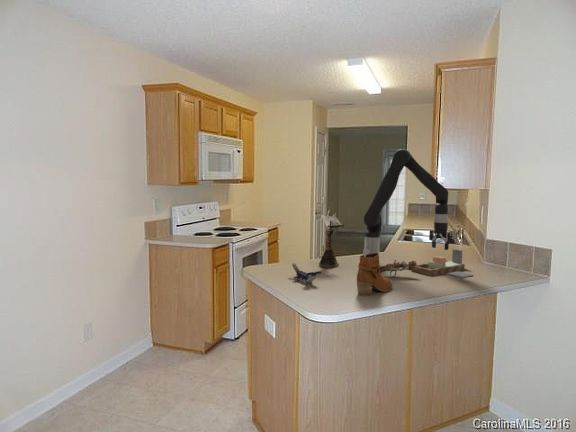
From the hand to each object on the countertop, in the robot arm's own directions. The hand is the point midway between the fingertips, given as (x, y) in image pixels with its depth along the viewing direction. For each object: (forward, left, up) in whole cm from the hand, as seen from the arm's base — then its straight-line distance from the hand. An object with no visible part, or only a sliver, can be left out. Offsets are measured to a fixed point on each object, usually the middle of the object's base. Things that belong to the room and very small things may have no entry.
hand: (440, 248), depth 237 cm
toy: (-83, +20, -13) cm, 86 cm away
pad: (0, -14, -13) cm, 19 cm away
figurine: (-37, +4, -13) cm, 39 cm away
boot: (-64, -13, -13) cm, 67 cm away
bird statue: (-49, +40, -13) cm, 65 cm away
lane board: (-1, 0, -13) cm, 13 cm away
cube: (0, 0, -10) cm, 10 cm away
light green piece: (+7, 0, -11) cm, 13 cm away
